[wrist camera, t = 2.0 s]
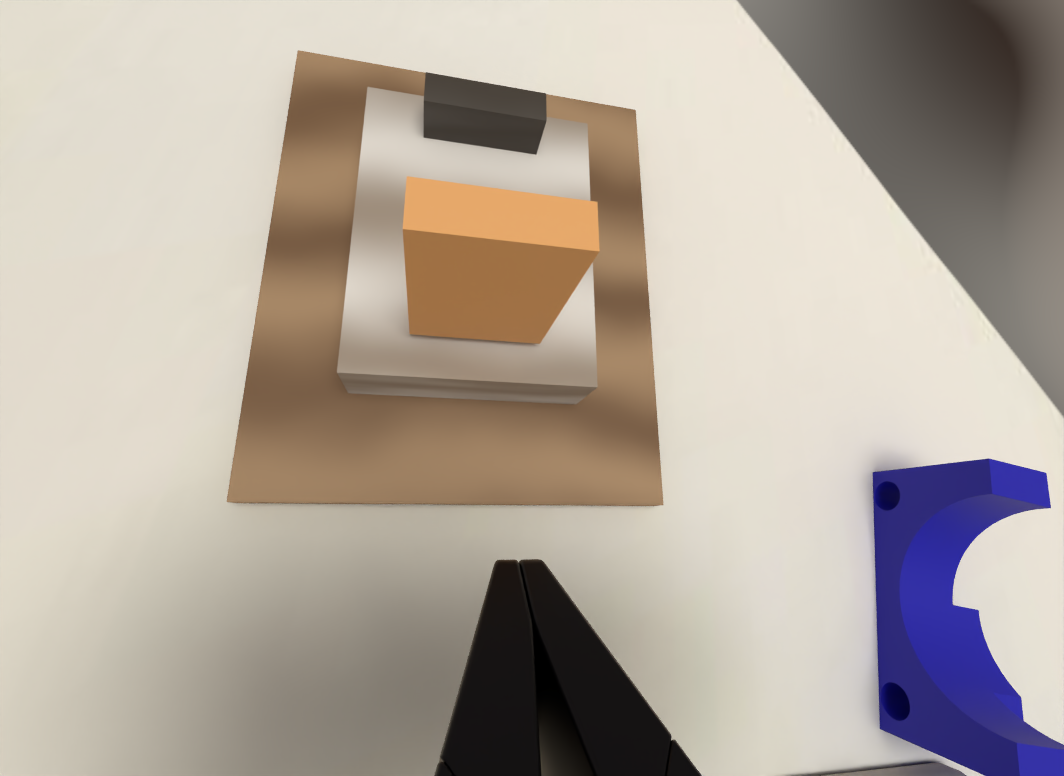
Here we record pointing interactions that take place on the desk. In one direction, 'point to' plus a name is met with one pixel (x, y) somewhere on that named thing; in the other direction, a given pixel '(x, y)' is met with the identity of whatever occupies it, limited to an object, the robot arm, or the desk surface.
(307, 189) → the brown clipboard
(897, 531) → the cable clip
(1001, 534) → the desk surface
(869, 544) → the desk surface
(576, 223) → the orange wedge plank
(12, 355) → the desk surface
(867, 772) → the electrical switch
